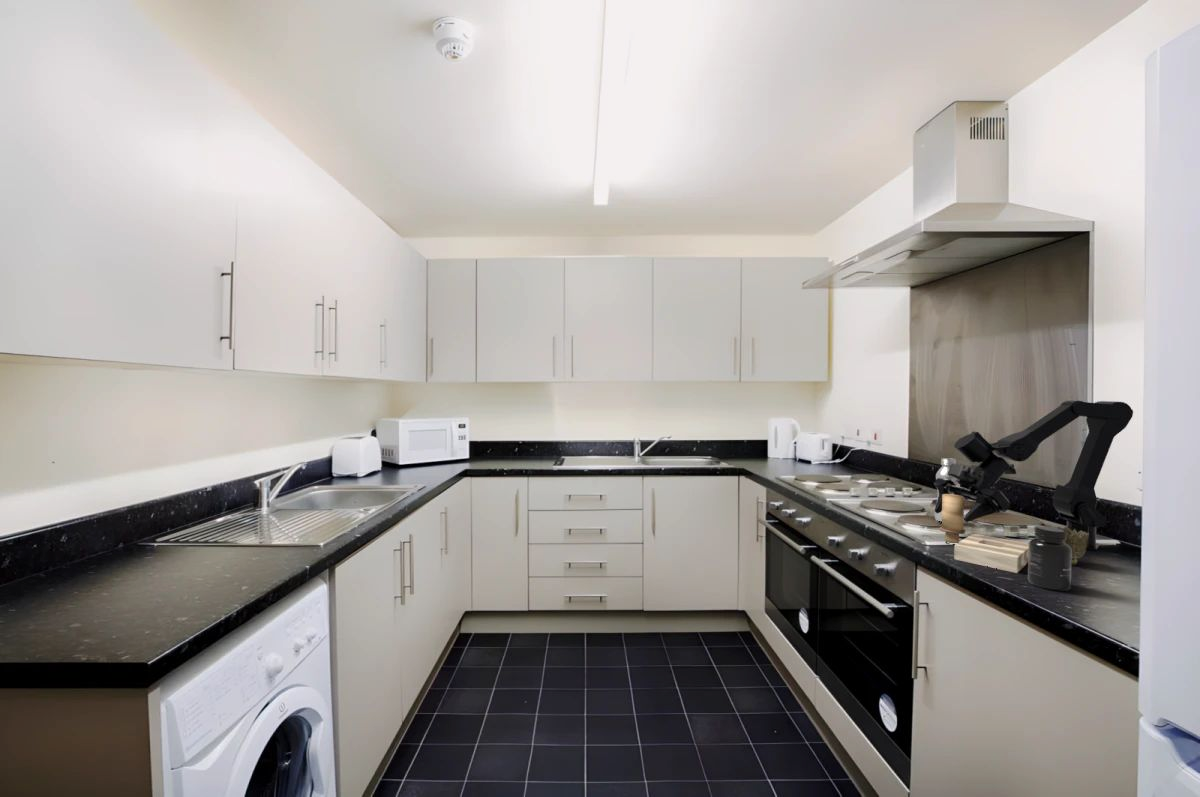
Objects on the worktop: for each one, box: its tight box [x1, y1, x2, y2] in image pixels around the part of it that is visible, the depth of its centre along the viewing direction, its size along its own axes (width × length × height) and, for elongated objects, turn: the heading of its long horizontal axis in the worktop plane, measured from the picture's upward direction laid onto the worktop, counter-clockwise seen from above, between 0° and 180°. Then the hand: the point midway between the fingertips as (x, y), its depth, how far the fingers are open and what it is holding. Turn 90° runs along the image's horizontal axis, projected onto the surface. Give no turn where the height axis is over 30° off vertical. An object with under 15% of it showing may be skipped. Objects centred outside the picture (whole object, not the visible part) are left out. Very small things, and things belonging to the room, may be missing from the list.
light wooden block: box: [953, 532, 1029, 574], centre depth 124 cm, size 16×12×4 cm
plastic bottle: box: [934, 457, 961, 522], centre depth 157 cm, size 6×7×20 cm
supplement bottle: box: [1027, 525, 1072, 592], centre depth 107 cm, size 7×7×12 cm
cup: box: [1056, 526, 1089, 566], centre depth 121 cm, size 8×7×8 cm
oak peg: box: [939, 494, 966, 543], centre depth 136 cm, size 6×6×13 cm
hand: (950, 516), depth 136 cm, fingers open, 9 cm apart
